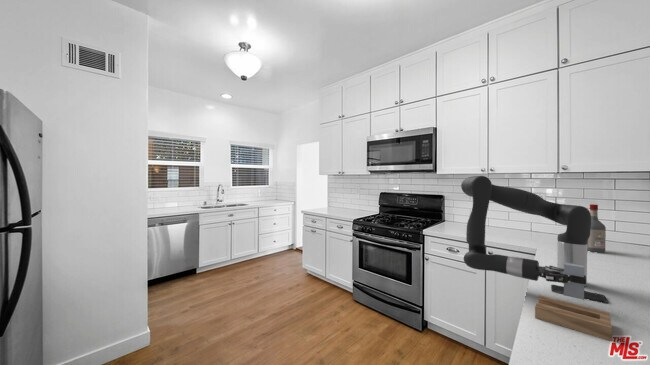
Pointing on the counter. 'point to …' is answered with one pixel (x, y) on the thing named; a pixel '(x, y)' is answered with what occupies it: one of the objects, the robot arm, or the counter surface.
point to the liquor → (596, 232)
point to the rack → (574, 317)
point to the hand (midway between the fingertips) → (585, 279)
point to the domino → (571, 287)
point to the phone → (587, 294)
